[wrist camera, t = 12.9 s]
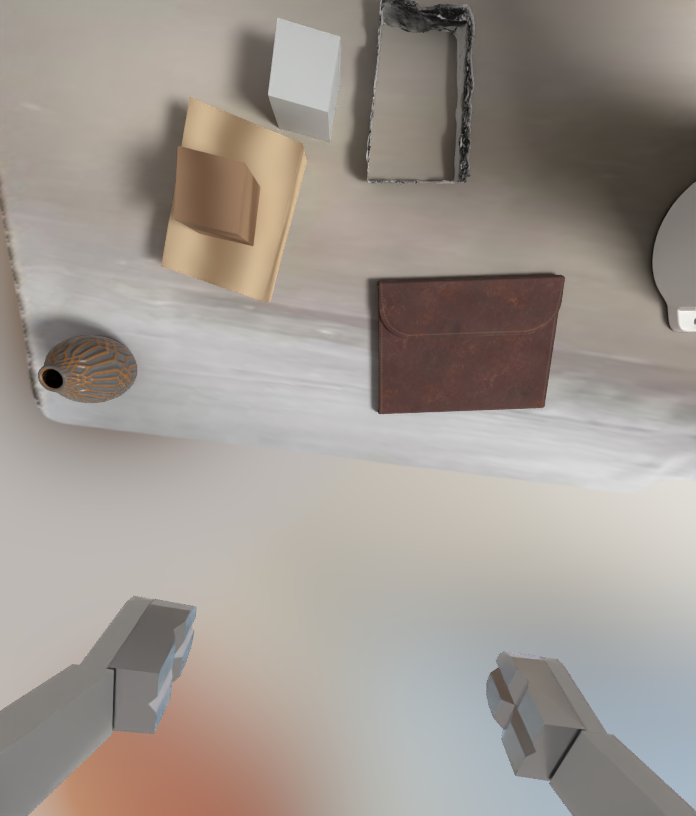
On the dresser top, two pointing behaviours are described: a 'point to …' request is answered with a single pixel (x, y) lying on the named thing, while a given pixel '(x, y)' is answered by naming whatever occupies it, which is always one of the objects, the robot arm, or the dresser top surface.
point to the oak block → (279, 187)
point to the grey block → (305, 79)
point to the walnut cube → (216, 196)
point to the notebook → (466, 343)
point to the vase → (88, 369)
